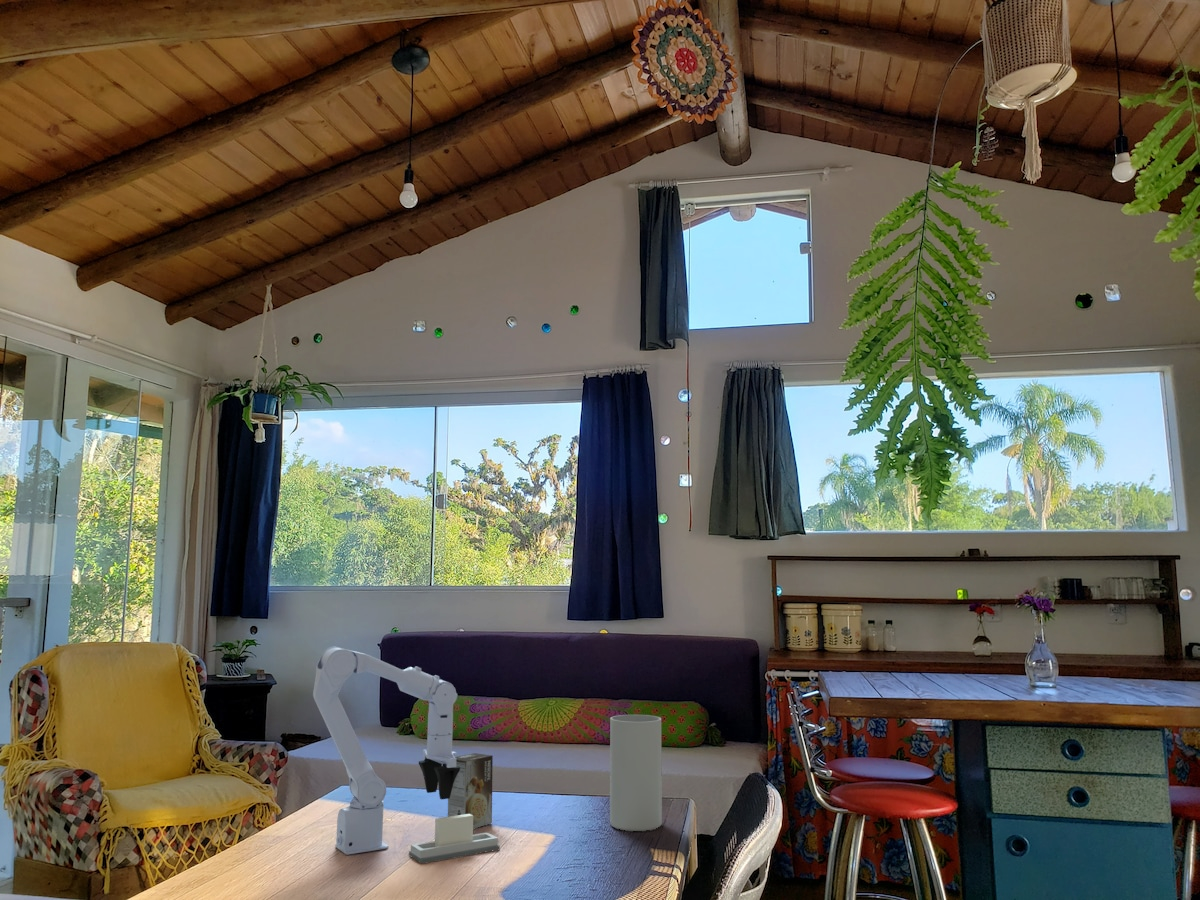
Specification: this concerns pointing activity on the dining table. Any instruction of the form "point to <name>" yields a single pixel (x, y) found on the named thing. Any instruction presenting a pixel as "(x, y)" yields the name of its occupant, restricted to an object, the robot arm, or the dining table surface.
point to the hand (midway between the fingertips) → (438, 795)
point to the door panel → (453, 829)
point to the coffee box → (473, 789)
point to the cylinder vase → (635, 772)
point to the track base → (453, 848)
